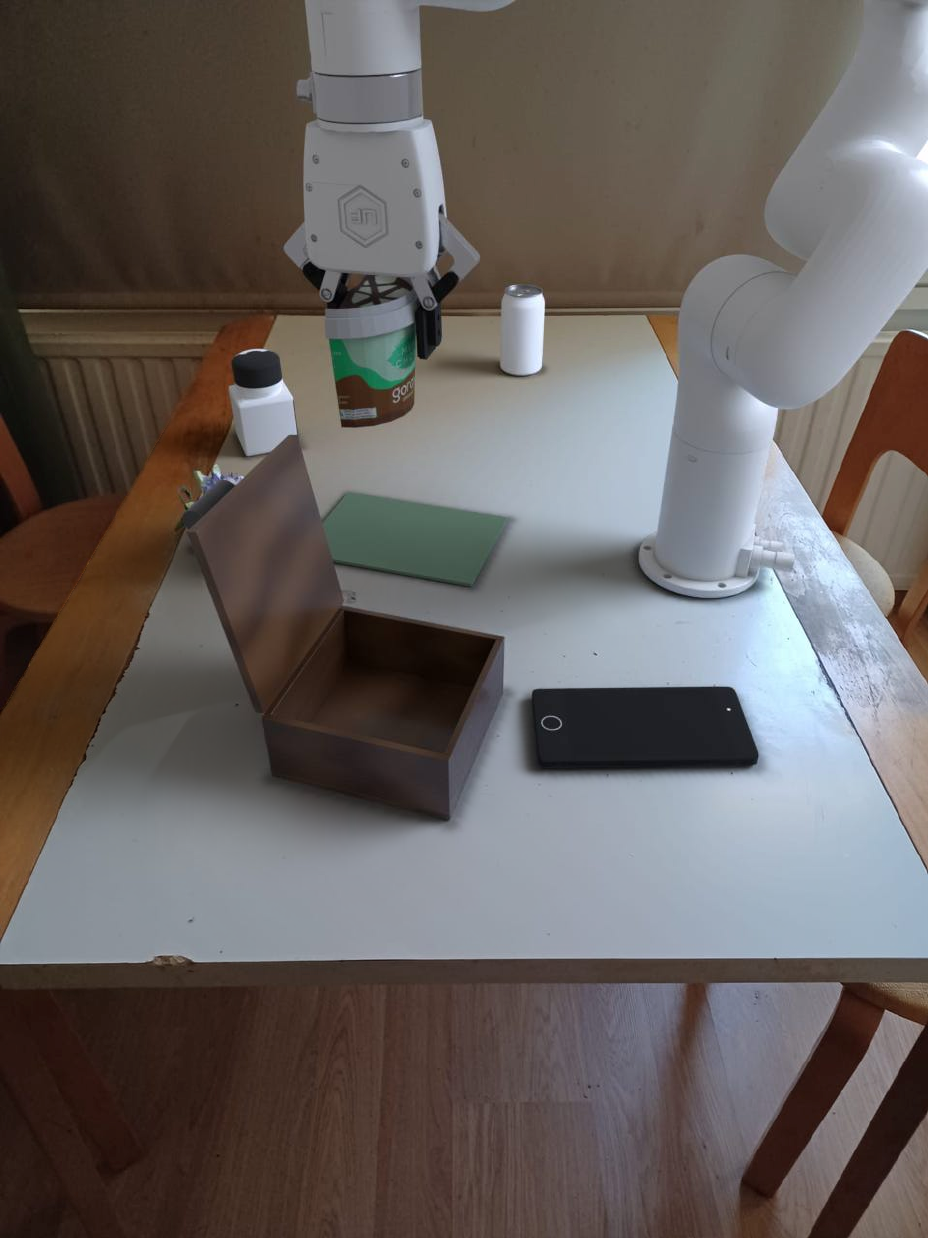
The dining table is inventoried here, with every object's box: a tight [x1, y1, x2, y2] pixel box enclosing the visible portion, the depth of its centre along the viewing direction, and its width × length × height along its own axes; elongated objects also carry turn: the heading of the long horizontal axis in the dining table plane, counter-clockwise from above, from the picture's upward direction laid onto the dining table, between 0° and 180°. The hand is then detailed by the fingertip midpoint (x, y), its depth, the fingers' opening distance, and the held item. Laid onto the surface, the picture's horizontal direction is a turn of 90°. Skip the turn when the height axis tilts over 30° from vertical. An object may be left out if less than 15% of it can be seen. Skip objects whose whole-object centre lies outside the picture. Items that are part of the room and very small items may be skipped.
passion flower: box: [174, 464, 245, 532], centre depth 98 cm, size 11×11×12 cm
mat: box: [322, 491, 508, 588], centre depth 102 cm, size 20×14×1 cm
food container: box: [324, 274, 420, 429], centre depth 74 cm, size 12×6×10 cm, turn 170°
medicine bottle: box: [228, 348, 300, 457], centre depth 118 cm, size 7×7×12 cm
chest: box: [260, 604, 506, 821], centre depth 75 cm, size 15×15×7 cm
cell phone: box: [531, 685, 760, 769], centre depth 77 cm, size 9×18×1 cm, turn 91°
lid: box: [181, 434, 345, 715], centre depth 71 cm, size 16×15×5 cm
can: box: [499, 283, 546, 377], centre depth 137 cm, size 6×6×12 cm
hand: (386, 347), depth 74 cm, fingers closed on food container, 6 cm apart
